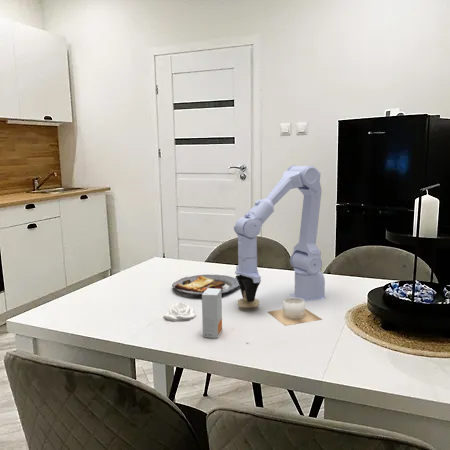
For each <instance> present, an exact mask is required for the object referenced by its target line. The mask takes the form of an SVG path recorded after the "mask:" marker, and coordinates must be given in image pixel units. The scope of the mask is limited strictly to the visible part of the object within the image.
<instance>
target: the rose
mask: <svg viewBox="0 0 450 450" xmlns="http://www.w3.org/2000/svg"><path fill="white" fill-rule="evenodd" d="M196 316H197V313H196V312H195V309H194V308H193V307H191V306H190V305H188V304H187V303H185V302H184V303H183V302H176V301H175V302H173V303H172V304H170V306H168V308H167V309H166V312H165V314H163V318H165V319H167V321H171V322H180V321H182V322H183V321H190V320H193V319H194V318H196Z"/></svg>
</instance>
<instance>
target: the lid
mask: <svg viewBox="0 0 450 450" xmlns="http://www.w3.org/2000/svg"><path fill="white" fill-rule="evenodd" d="M243 296H244V298H243V297H242V298H240V299H237V301H236V302H237V306H238V307H240V308H247V309H248V308H257V307H258V306H260V300H259V299H258V298H255V299H254V301H251V302H248V301H247V299H246V292H245V290H244V291H243Z"/></svg>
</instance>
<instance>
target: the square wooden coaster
mask: <svg viewBox="0 0 450 450" xmlns="http://www.w3.org/2000/svg"><path fill="white" fill-rule="evenodd" d="M267 313H268V314H269V315H270V316H272V317H273V318H274V319H276V320H277V321H278V322H279V323H280V324H282V325H283V326H285V327H288V326H292V325H299V324H304V323H305V324H306V323H310V322H315V321H321V320H323V318H321V317H319V316H318V315H316V314H315V313H313V312H311V311H310V310H308V309H307V308H305V317H304V318H302V319H287V318H285V317H284V316H283V308H282V309H276V310H269V311H267Z"/></svg>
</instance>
